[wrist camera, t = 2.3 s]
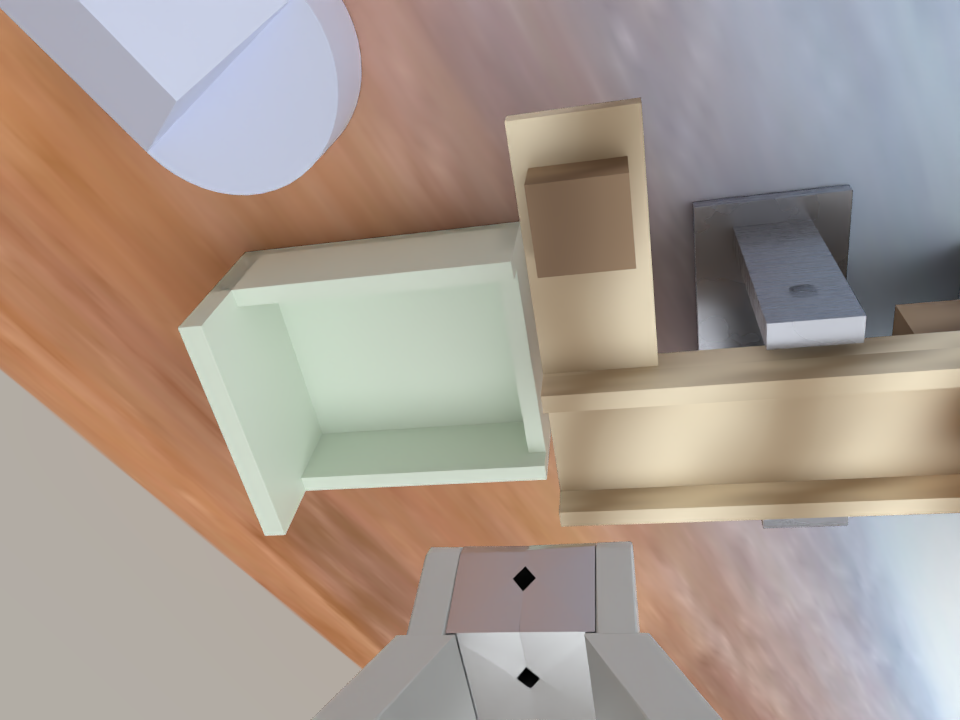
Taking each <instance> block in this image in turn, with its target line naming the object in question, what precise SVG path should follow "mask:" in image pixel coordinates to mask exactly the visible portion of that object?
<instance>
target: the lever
mask: <svg viewBox="0 0 960 720" xmlns="http://www.w3.org/2000/svg"><path fill="white" fill-rule="evenodd" d="M504 122H505V129H506V135H507V142H508V148H509V155H510V161H511V168H512V174H513V181H514V187H515V194H516V200H517V207H518V213H519V220H520V226H521V233H522V239H523V246H524V252H525V259H526V265H527V272H528V278H529V285H530V291H531V298H532V304H533V311H534V317H535V324H536V330H537V337H538V343H539V350H540V356H541V363H542V369H543V381H542V390H541V402H542V408H543V413H548V414H549V420H550V427H551V433H552V440H553V446H554V453H555V459H556V466H557V472H558V479H559V485H560V506H559V515H560V522H561V527H563V526H592V525H621V524H650V523H679V522H708V521H737V520H766V519H795V518H824V517H853V516H882V515H911V514H940V513H960V300H948V301H935V302H923V303H911V304H899V305H895V314H894V323H893V332H892V336H883V337H870V338H864V343H855V344H842V345H828V346H815V347H801V348H788V349H775V350H766V347H765V345H764V346H751V347H738V348H724V349H711V350H698V351H685V352H672V353H658V352H657V336H656V321H655V305H654V290H653V275H652V259H651V244H650V228H649V213H648V197H647V182H646V166H645V151H644V135H643V120H642V104H641V97H640V98H633V99H626V100H619V101H611V102H604V103H597V104H590V105H583V106H575V107H568V108H561V109H554V110H546V111H539V112H532V113H525V114H518V115H510V116H506V119H505V121H504Z"/></svg>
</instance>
